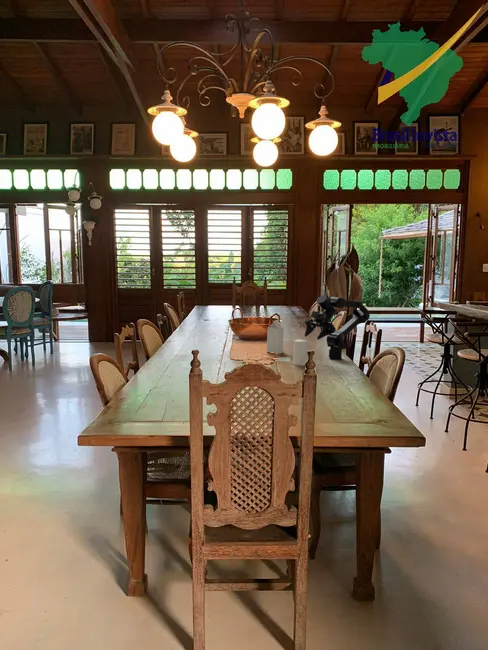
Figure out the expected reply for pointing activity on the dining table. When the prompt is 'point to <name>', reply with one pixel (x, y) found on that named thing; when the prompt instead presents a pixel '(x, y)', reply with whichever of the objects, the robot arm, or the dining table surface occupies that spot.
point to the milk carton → (275, 337)
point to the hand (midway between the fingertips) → (311, 337)
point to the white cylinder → (300, 352)
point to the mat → (284, 359)
